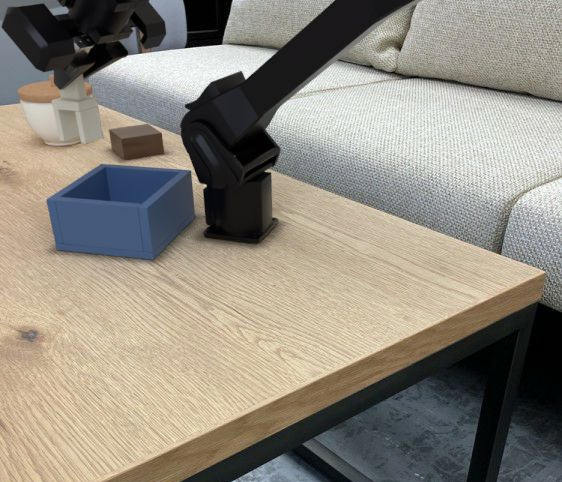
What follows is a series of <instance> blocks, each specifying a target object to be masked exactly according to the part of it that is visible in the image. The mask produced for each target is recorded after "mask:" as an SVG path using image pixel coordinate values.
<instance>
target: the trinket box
mask: <svg viewBox="0 0 562 482" xmlns="http://www.w3.org/2000/svg"><path fill="white" fill-rule="evenodd" d="M48 77H49V80H44V81H38V82H32V83H29V84H25V85H23V86H20V87H19V88H18V89H17V96H18V99H19V102H20V107H21V111H22V114H23V116H24V119H25V121H26V124H27V126H28V127H29V129H30V130H31V131H32V132H33V134H34V135H35V136H36V137H38V138H39V139H41V140H42V141H43V143H44V144H45V145H48V146H54V147H60V146H61V147H62V146H63V147H64V146H71V145H77V144H80V143H81V140H80V136H79V137H76V138H73V139H69V140H66V141H60V139H59V134H58V129H57V124H56V120H55V115H54V109H53V105H52V100H54V99H58V98H61V97H60V92H59V89H58V88H57V86H56V85H55V84H54V74H50V75H49V76H48ZM84 84H85V89H86V94H87V96H88V97H94V96H93V86H92V84H91V83H89V82H88V81H84Z"/></svg>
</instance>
